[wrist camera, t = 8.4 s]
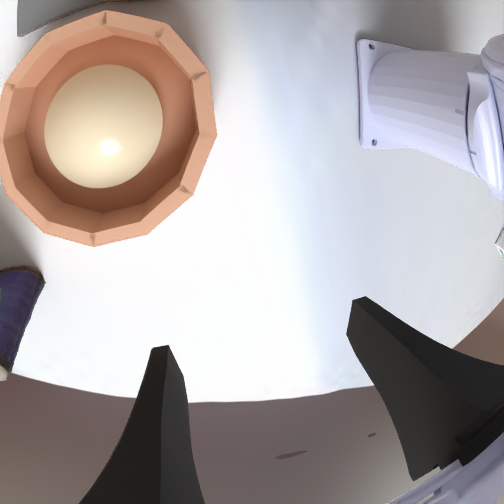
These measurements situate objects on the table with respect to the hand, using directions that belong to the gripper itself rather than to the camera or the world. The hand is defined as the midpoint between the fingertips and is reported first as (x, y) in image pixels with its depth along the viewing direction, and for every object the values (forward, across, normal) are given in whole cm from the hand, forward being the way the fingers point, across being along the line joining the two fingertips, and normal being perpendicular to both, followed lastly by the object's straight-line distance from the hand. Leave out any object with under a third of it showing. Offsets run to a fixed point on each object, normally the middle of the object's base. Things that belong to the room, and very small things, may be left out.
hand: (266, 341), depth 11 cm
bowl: (+10, +6, -8) cm, 14 cm away
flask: (+11, +19, +1) cm, 22 cm away
